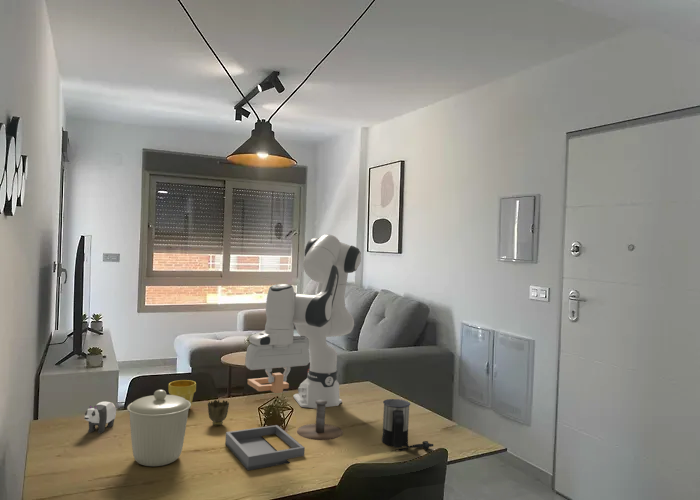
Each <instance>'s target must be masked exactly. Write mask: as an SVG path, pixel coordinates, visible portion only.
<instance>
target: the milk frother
mask: <svg viewBox="0 0 700 500" xmlns="http://www.w3.org/2000/svg"><path fill="white" fill-rule="evenodd" d="M410 406H411V403H410V402H409V401H407V400H404V399H398V398H389V399H384V400H383V418H382V435H381V436H382V437H381V442H382V443H383V444H384V445H386V446H389V447H393V448H396V449H392V451H397V452H398V451H406V450H407V449H412V448H413V449H415V448H419V449H420V448H422V449H423V450H429V449H430V448H431V447H434V443H429V441H428V440H424V441H422V443H418V444H412V445H409V421H410Z"/></svg>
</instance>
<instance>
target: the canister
mask: <svg viewBox="0 0 700 500" xmlns="http://www.w3.org/2000/svg"><path fill="white" fill-rule="evenodd" d="M190 407H192V404H191V403H190V402H189V401H188V400H186V399H184V398H182V397H180V396H175V395H170V394H167V392H166V390H164V389H157V390H155V391H154V392H153V395H147V396H142V397H140V398H137V399H135V400H134V401H133V402H131V403H129V404H128V405H127V407H126V410H127V411H128V414H129V426H130V437H131V439H130V440H131V448H132V455H133V458H134V460H135V462H136V463H138V464H139V465H141V466H146V467H162V466H166V465H169V464H171V463H174V462H175V461H176V460H178V459H179V457H180V456H181V454H182V452H183V446H184V440H185V434H186V429H187V422H188V416H189V408H190ZM190 409H191V408H190Z"/></svg>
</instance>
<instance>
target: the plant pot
mask: <svg viewBox="0 0 700 500" xmlns="http://www.w3.org/2000/svg"><path fill="white" fill-rule="evenodd" d="M196 392H197V383H196V381H194V380H191V379H190V380H189V379H188V380H187V379H180V380H174V381H171V382H169V383H168V393H169V395H175V396H180V397H182V398H184V399H186V400H188V401H189V402H190V403H191V405H192V403H193V398H194V394H195V393H196ZM191 407H192V406H191ZM191 407H190V408H189V409H191ZM189 409H188V410H189Z"/></svg>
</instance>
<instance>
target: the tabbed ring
mask: <svg viewBox="0 0 700 500" xmlns="http://www.w3.org/2000/svg"><path fill="white" fill-rule="evenodd" d="M271 375H272V376H274V377H275V382H274V383H269V382H268V376H267V377H260V378H259V377H258V378H247V385H248V386H250V387H252V388H253V389H254V390H256V391H257V392H265V391H268V392H269V391H271V392H272V393H274V394H282V393H283V392H284V389H286V390H287V389H289V388H290V384H289V383H288V382H287V381H285V382H283V377H284V375H283V373H281V372H274V373H273V372H271Z"/></svg>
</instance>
